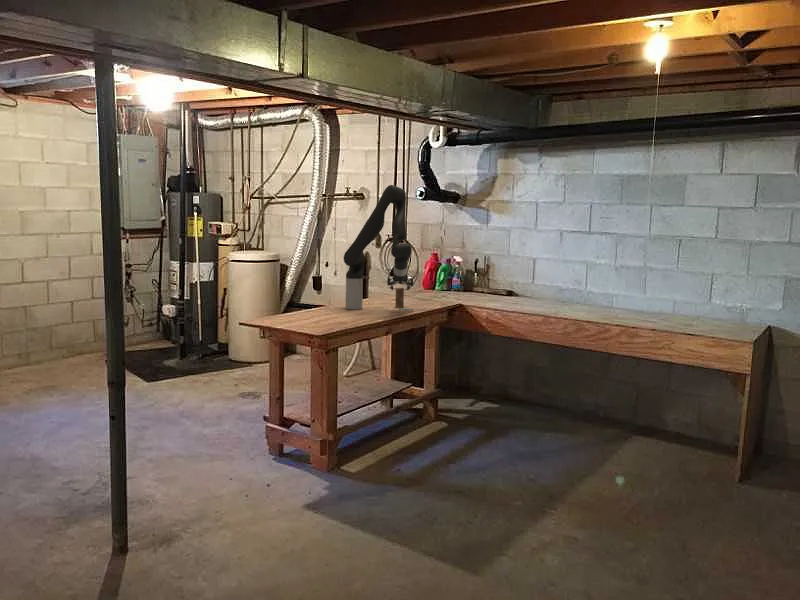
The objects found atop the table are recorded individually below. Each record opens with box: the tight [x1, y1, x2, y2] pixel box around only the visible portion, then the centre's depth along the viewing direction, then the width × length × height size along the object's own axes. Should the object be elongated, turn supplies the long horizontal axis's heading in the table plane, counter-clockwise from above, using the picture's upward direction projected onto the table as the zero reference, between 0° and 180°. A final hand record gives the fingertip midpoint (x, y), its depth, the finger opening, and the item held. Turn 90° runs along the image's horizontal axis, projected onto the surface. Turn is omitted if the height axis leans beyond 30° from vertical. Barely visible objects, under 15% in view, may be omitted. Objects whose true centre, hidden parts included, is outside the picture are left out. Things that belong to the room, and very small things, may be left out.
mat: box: [398, 307, 414, 312], centre depth 373 cm, size 8×8×1 cm
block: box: [394, 287, 405, 309], centre depth 380 cm, size 4×4×11 cm
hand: (400, 289), depth 372 cm, fingers open, 8 cm apart
